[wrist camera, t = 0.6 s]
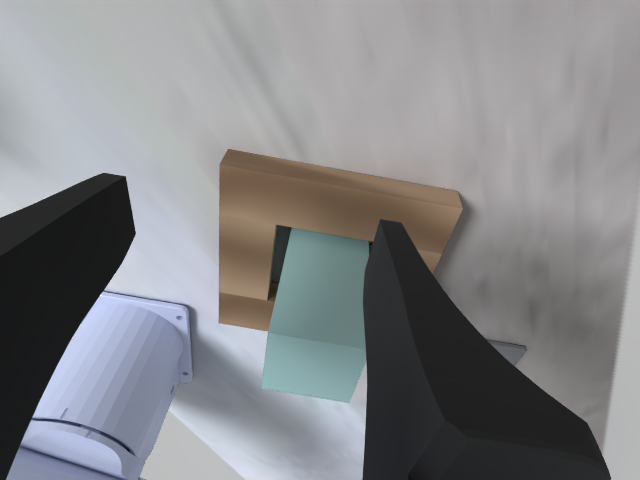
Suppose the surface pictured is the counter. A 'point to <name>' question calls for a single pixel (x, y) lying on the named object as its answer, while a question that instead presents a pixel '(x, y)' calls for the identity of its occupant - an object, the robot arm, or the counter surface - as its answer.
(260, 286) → the block
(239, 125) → the counter surface
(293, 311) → the peg
